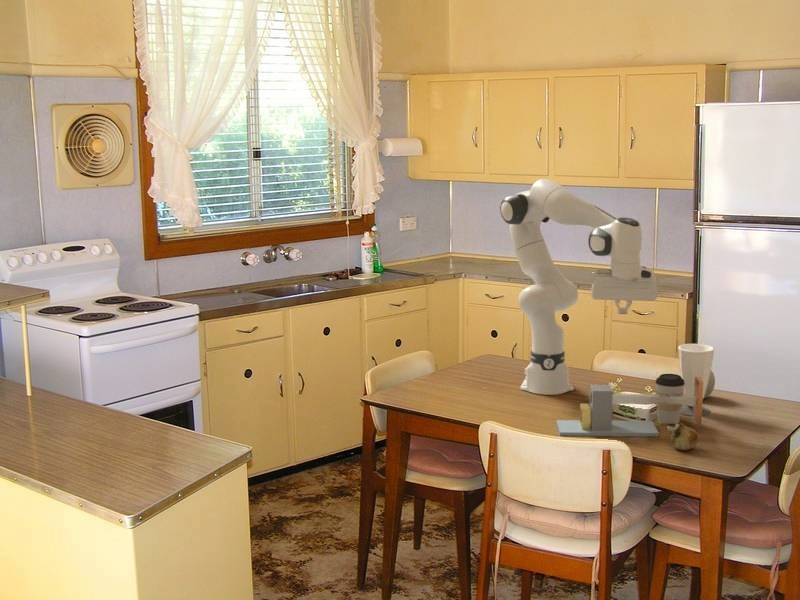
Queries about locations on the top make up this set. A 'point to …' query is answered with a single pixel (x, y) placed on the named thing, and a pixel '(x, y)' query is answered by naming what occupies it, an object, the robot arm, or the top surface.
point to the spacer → (585, 416)
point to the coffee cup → (669, 386)
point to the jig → (605, 419)
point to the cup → (695, 371)
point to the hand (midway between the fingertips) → (622, 313)
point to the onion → (683, 437)
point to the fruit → (710, 385)
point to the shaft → (667, 399)
